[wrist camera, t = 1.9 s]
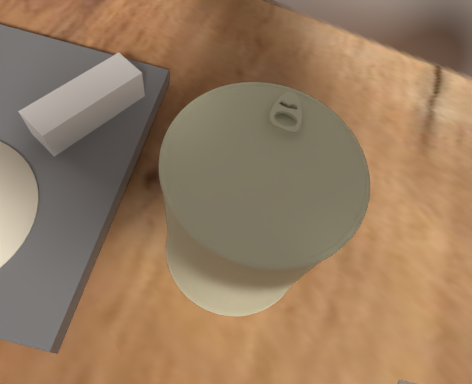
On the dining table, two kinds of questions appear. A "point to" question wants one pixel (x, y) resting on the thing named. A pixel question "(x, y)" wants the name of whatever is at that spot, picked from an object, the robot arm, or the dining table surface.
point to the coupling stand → (62, 172)
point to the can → (257, 193)
